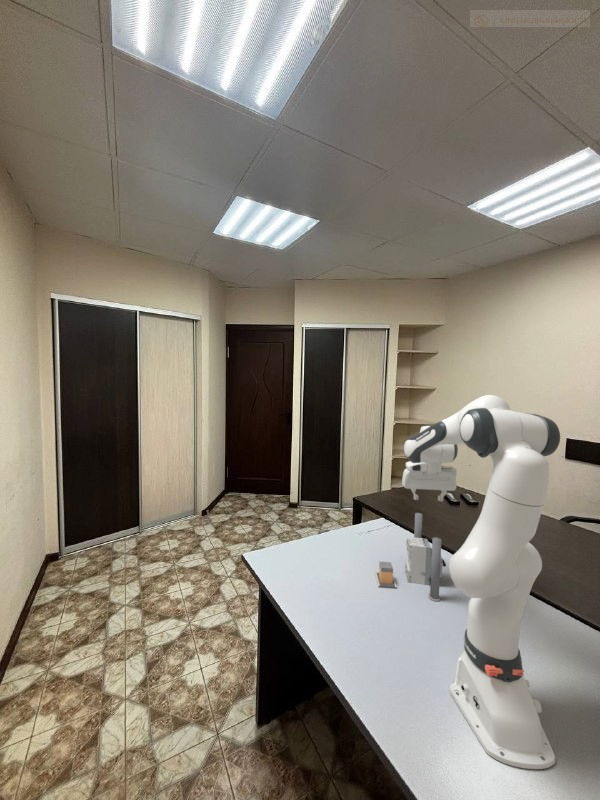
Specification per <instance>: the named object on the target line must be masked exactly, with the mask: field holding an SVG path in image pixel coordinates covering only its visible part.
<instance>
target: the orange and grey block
mask: <svg viewBox="0 0 600 800" xmlns="http://www.w3.org/2000/svg"><path fill="white" fill-rule="evenodd" d="M378 563H379V564H378V565H379V567H378V568H379V569H378V573H379V578H380V582H381V583H390V584H393V577H394V568H393V564H392V562H390V561H379V562H378Z"/></svg>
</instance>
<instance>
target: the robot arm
mask: <svg viewBox="0 0 600 800" xmlns="http://www.w3.org/2000/svg"><path fill="white" fill-rule="evenodd" d="M560 442H561V433H560V429H559V427H558V425H557V423H556V422H555V421H554V420H552V419H550V418H548V417H546V416H543V415H541V414H536V413H528V412H527V413H526V412H521V411H514V410H511V408H510V405H509V403H508V402H507V401H506V400H505V399H504V398H502V397H500V396H499V395H495V394H486V395H483V396H479V397H477V398H476V399H474V400H472V401H470V402H469V403H468V404H466V405H465V406H464V407H463V408H461V409H459V411H457V412H456V413H454V414H452V415H450V416H448V417H446V418H445V419H442V420H440V421H438V422H436V423H434V424H429V425H428V424H427V425H426V424H425V425H422V426H421V427H420V430H419V433H418V434H416V435H413V434H411V435H410V436H409V437H407V439H405V441H404V443H403V454H404V456H405V457H406V459H407V460H408V461H406V462H405V469H404V470H403V473H402V477H401V478H402V479H401V485H402V486H403V488H404V489H408V490H411V492H412V494H413V500H415V501H419V495H418V494H417V493H416V491H417V490H427V491H428V490H431V491H433V490H434V491H441V492H440V495H437V501H438V502H443V501H444V497H445V496H446V495H447V491H455V490H457V478H456V477H457V472H458V471H457V468H454V467H453V466H450V465H449V466H446V465H445V466H444V465H443V463H444V464H448V463H449V464H450V463H453V462H454V461H455V460H456V458H457V457H458V455H459V454H458V453H459V452H458V450H459V448H458V445H462V446H463V445H465V446H466V447H468V448H469V449H471V450H472V451H474V452H476V454H477V455H478V456H479V457H480V458H482V459H484V458H486V457H488V456H490V458H491V460H492V463H493V466H492V472H491V475H490V478H489V482H488V486H487V491H486V494H485V497H484V501H483V504H482V507H481V512H480V513H479V514H480V515H479V516H478V519H477V521H476V523H475V524H474V526H473V528H472V529H471V531H470V533H469V534H468V536H467V538H466V539H465V541H464V542H463V544H462V545H461V547H459V549H458V550H457V551H456V552H454V554H453V555H451V557H450V559H449V562H448V571H449V576H450V578H451V580H452V582H453V584H454V585H455V587H456V588H457V589H458V590H459V591H460V592H461V594H464V596H467V597H468V598H470V599H469V601H468V605H467V617H466V618H467V619H466V620H467V622H466V629H465V630H464V631H465V632H464V635H463V648H464V650H463V652H462V653H461V655H460V656H459V657H458V658H457V664H456V672H455V677H454V682H452V683H451V684H450V686H449V694H450V696H451V697H452V698H453V700H454V701H455V704H456V705H457V707H458V708H459V710H460V711H461V713H462V715H463V716H464V718H465V720H466V722H467V723H468V725H469V726H470V728H471V730H472V732H473V733H474V735H475V737H476V738H477V740H478V741H479V743H480V745H481V747H482V748H483V749H484V751H485V752H486V754H488V755H489V756H490V757H492V758H493V759H495V760H497V761H499V762H500V763H504V764H505V765H509V766H512V767H516V768H522V769H529V770H542V769H548V768H550V767H552V766H553V765H555V764H556V755H555V752H554V750H553V748H552V746H551V744H550V741H549V739H548V737H547V735H546V732H545V730H544V728H543V726H542V723H541V719H540V716H539V714H542V709H543V708H542V705H541V703H540V700H538V699H534V698H533V697H532V694H531V692H530V689H529V688H530V682H529V680H528V679H526V678H525V674H524V673H525V670H524V668H523V660H522V654H521V651H520V646H519V645H520V633H521V623H522V618H523V614H524V612H525V608H526V605H527V602H528V600H529V597H530V593H531V591H532V587H533V585H534V582H535V581H536V579H537V577H538V576H539V575H540V573H541V571H542V568H543V560H542V557H541V555H540V553H539V551H538V549H537V548H535V546H534V545H533V544H532V543H530V541H531V540H532V539H533V538H534V536H535V534H536V533H537V530H538V526H539V524H540V523H539V522H540V520H541V517H542V516H541V515H542V512H543V508H544V506H545V501H546V499H547V493H548V488H549V482H550V481H549V479H550V464H549V461H548V460H547V458H546V457H548V456H551V455H552V454H554V453H555V452H556V450H557V449H558V448H559V445H560Z"/></svg>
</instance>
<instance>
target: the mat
mask: <svg viewBox="0 0 600 800" xmlns="http://www.w3.org/2000/svg"><path fill="white" fill-rule="evenodd" d="M374 575H375V580H376V583H377V586H378V588H381V589H382V588H386V589H396V590H397V589H398V586H397V584H396V583H397V582H396V580H395V578H394V576H393V584H390V583H381V582H380V578H379V572H374Z"/></svg>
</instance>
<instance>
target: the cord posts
mask: <svg viewBox="0 0 600 800" xmlns="http://www.w3.org/2000/svg"><path fill="white" fill-rule="evenodd" d="M422 530H423V514H422V513H421V512H415V513H414V530H413V531H414V532H413V533H414V534H413V537H415V538H423V537H422V536H423V535H422V533H423V531H422ZM431 541H432V543H431V545H432V546H431V548H432V562H431V576H430V583H429V586H430V588H429V589H430V590H429V593H428V599H429V600H430V601H433V602H436V603H438V602H440V601H441V596H440V582H441V581H440V580H441V578H440V562H441V556H442V539H441V538H440V537H436V536H435V537H432V540H431Z"/></svg>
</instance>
